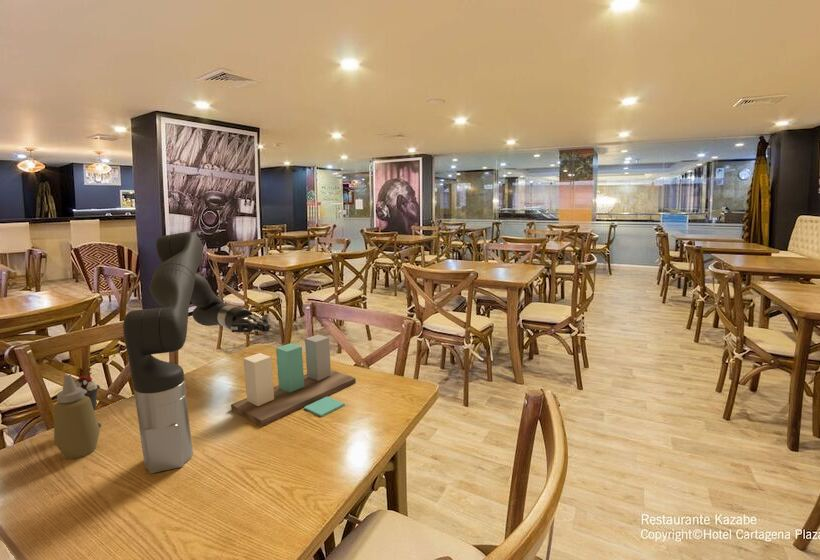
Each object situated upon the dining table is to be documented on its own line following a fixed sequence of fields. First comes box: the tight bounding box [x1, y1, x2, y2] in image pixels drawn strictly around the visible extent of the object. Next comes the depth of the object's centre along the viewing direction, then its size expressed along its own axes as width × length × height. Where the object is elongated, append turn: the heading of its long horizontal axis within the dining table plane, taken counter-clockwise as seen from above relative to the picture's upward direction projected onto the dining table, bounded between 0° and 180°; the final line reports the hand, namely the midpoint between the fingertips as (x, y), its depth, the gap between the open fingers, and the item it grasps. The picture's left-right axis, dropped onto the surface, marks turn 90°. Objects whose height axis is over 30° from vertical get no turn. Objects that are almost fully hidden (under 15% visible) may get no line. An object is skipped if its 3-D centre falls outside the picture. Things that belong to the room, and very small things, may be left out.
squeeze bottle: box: [52, 374, 101, 459], centre depth 97 cm, size 8×8×18 cm
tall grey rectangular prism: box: [304, 334, 332, 381], centre depth 133 cm, size 5×5×12 cm
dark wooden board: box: [230, 369, 357, 427], centre depth 125 cm, size 14×32×2 cm, turn 141°
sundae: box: [74, 367, 102, 429], centre depth 107 cm, size 7×7×15 cm
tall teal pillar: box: [275, 342, 305, 393], centre depth 126 cm, size 5×5×12 cm
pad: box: [303, 395, 346, 418], centre depth 118 cm, size 7×8×1 cm
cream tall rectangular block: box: [243, 352, 274, 406], centre depth 118 cm, size 5×5×12 cm
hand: (267, 328), depth 130 cm, fingers closed
